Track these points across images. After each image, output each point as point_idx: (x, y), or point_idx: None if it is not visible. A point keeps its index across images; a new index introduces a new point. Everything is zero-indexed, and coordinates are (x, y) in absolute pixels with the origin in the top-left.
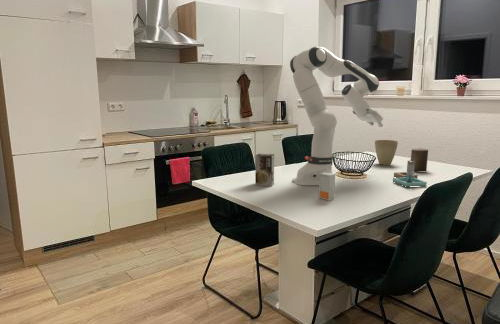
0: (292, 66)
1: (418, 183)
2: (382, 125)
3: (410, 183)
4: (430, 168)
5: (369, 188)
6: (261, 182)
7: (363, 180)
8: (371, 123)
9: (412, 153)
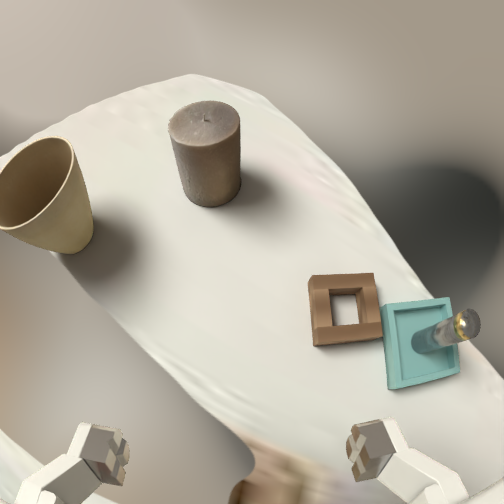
0: None
1: None
2: (390, 423)
3: (458, 357)
4: None
5: None
6: None
7: (337, 485)
8: (119, 473)
9: (199, 159)
